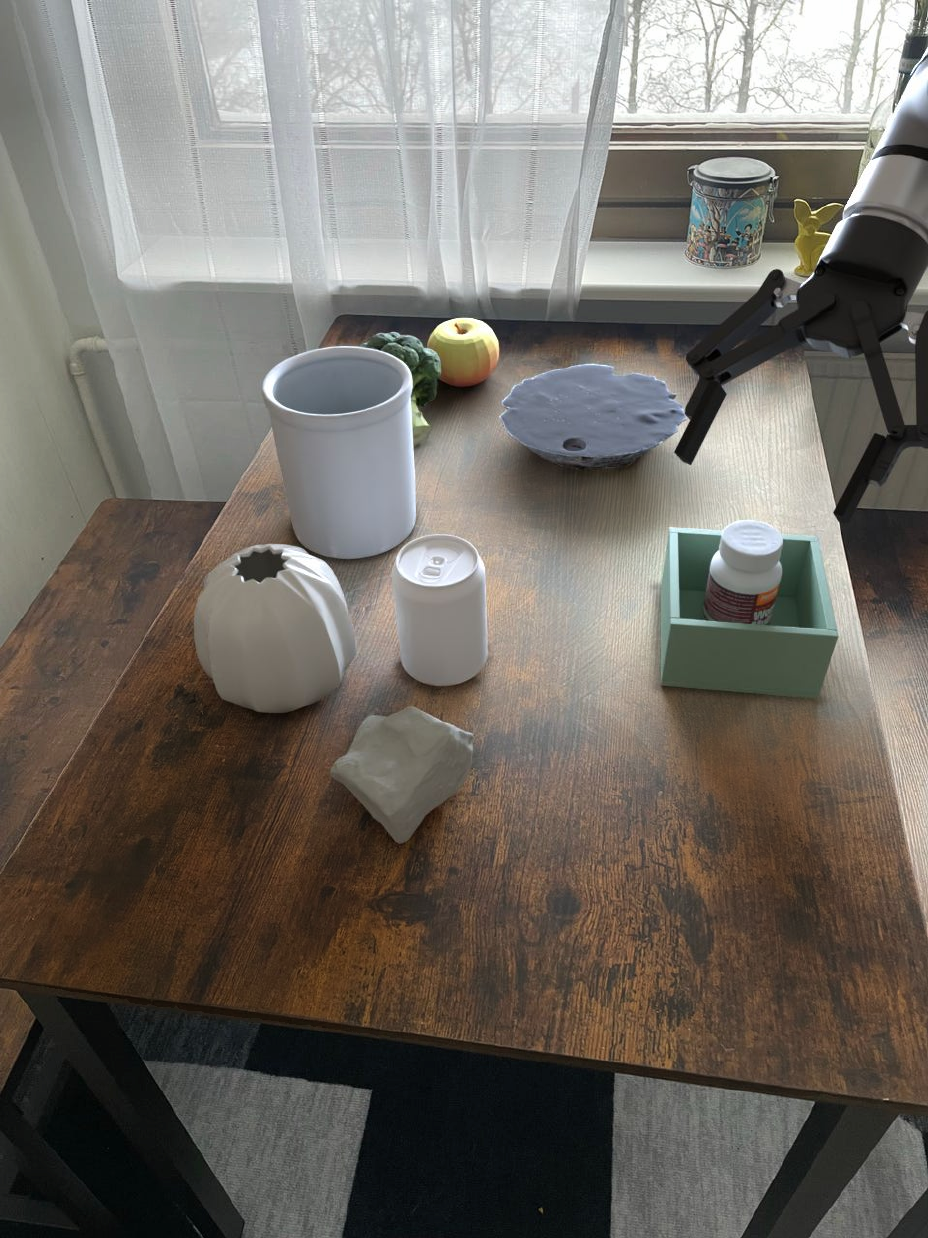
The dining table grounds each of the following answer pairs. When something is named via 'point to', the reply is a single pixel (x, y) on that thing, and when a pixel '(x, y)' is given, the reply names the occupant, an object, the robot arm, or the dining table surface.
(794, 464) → the dining table surface
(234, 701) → the vase
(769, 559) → the pill bottle
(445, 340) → the apple
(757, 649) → the bin
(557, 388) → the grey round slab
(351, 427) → the utensil holder
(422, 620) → the beverage can
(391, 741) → the decorative stone
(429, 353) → the vegetable
